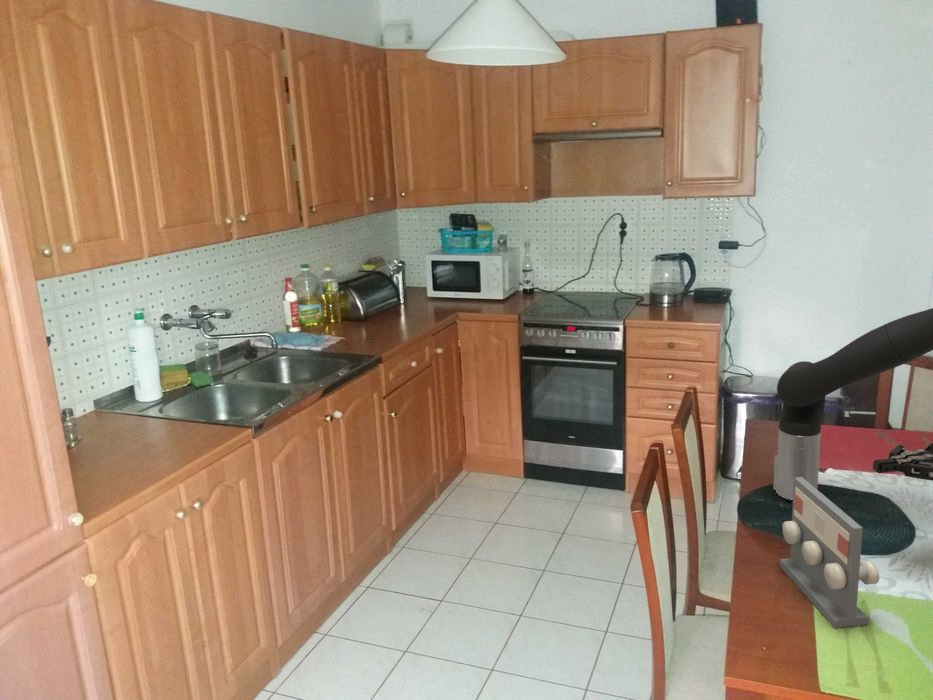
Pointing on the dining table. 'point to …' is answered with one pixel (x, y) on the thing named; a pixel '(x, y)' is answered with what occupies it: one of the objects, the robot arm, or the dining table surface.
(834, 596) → the grey panel with knobs
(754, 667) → the dining table surface
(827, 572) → the pin
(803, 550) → the middle pin
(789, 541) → the pin
